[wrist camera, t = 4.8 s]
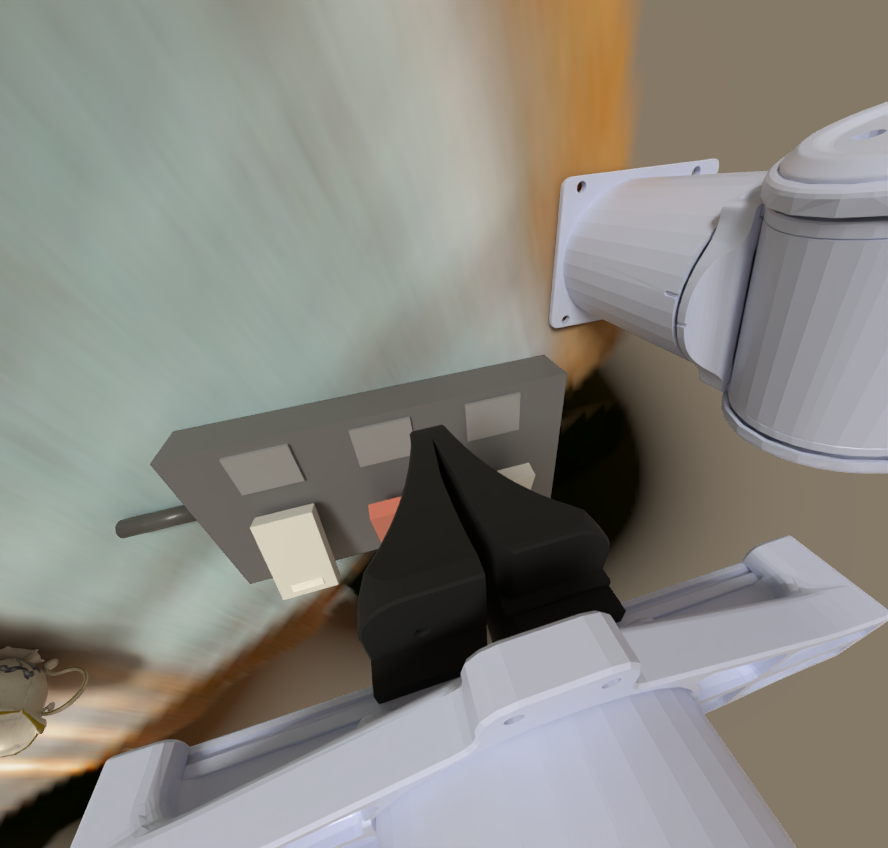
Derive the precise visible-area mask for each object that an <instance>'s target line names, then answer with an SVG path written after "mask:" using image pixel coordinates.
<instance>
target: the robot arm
mask: <svg viewBox="0 0 888 848" xmlns="http://www.w3.org/2000/svg"><path fill="white" fill-rule="evenodd" d="M693 169H695V171H694V174H693V175H692V172H693ZM718 169H719V161H718V160H717V159H707V160H699V161H692V162H683V163H675V164H667V165H659V166H651V167H643V168H635V169H627V170H619V171H611V172H603V173H595V174H587V175H580V176H572V177H568V178H566V179H565V180H564V181H563V183H562V185H561V190H560V201H559V212H558V223H557V235H556V246H555V257H554V269H553V280H552V291H551V303H550V314H549V324H550V326H552V327H554V328H562V327H567V326H572V325H577V324H582V323H587V322H592V321H597V320H602V319H603V320H605V321H607V322H609V323H611V324H613V325H615V326H618V327H620V328H622V329H624V330H626V331H628V332H630V333H632V334H634V335H636V336H638V337H640V338H642V339H645V340H647V341H649V342H651V343H653V344H655V345H657V346H659V347H661V348H664V349H665V350H667V351H670V352H672V353H674V354H676V355H678V356H680V357H682V358H684V359H686V360H688V361H691V362H692V363H694V364H695V365H696V366H697V367H698V369H699V373H700V380H701V381H703V382H705V383H707V384H709V385H711V386H713V387H715V388H716V389H718V390H720V391H722V392H723V396H722V411H723V414H724V418H725V419H726V421H727V423H728V424H729V426H730V427H731V428H732V429H733V430H734V431H735V432H736V433H737V434H738V435H739V436H740V437H742V438H743V439H745V440H746V441H747V442H749V443H750V444H752V445H754V446H755V447H757V448H759V449H761V450H763V451H765V452H767V453H769V454H772V455H774V456H776V457H779V458H782V459H785V460H788V461H791V462H794V463H797V464H801V465H805V466H809V467H813V468H818V469H825V470H831V471H837V472H849V473H888V102H885V103H882V104H880V105H877V106H874V107H871V108H869V109H866V110H863V111H861V112H858V113H856V114H853V115H851V116H848V117H846V118H844V119H841V120H839V121H837V122H835V123H832V124H831V125H829V126H826V127H824V128H823V129H821V130H819V131H817V132H815V133H814V134H812V135H811V136H809V137H808V138H806V139H805V140H804V141H803V142H802V143H800V144H799V145H798V146H797V147H796V148H795V149H794V150H792V151H791V152H790V153H789V154H788V155H786V156H785V157H784V158H782V159H781V160H779V161H778V162H777V163H776V164H775V165H774V166H773V167H772V168H771V169H770V170H769V171H757V172H740V173H721V174H717V172H718ZM579 182H581V184H582V188H581V190H580V192H578V191H577V186H578V184H579ZM564 316H566V319H565V320H564V321H563V322H562V319H563V317H564ZM409 435H410V441H411V450H410V460H409V467H408V473H407V477H406V481H405V486H404V489H403V493H402V496H401V499H400V502H399V505H398V508H397V510H396V513H395V515H394V518H393V520H392V523H391V525H390V527H389V529H388V531H387V533H386V535H385V537H384V539H383V541H382V543H381V545H380V547H379V549H378V550H377V552H376V554H375V555H374V557H373V559H372V560H371V562H370V564H369V565H368V567H367V569H366V570H365V572H364V574H363V579H362V583H361V588H360V593H359V600H358V610H357V622H358V636H359V640H360V642H361V644H362V646H363V647H364V649H365V651H366V652H367V654H368V656H369V657H370V659H371V666H372V682H373V686H371V687H368V688H365V689H362V690H359V691H356V692H353V693H350V694H347V695H344V696H341V697H338V698H335V699H332V700H329V701H326V702H323V703H320V704H317V705H314V706H311V707H308V708H305V709H302V710H300V711H296V712H293V713H290V714H288V715H284V716H281V717H278V718H275V719H273V720H269V721H266V722H263V723H260V724H257V725H255V726H252V727H248V728H245V729H242V730H239V731H236V732H234V733H231V734H227V735H225V736H222V737H219V738H215V739H213V740H209V741H207V742H204V743H201V744H198V745H195V746H192V747H189V746H188V745H187V744H185V743H184V742H182V741H179V740H164V741H159V742H156V743H152V744H149V745H146V746H143V747H140V748H137V749H134V750H131V751H128V752H125V753H122V754H119V755H116V756H113V757H111V758H110V759H109V760H107V761H106V763H105V765H104V768H103V770H102V772H101V775H100V777H99V780H98V782H97V784H96V787H95V789H94V792H93V794H92V796H91V799H90V801H89V804H88V806H87V808H86V811H85V813H84V816H83V818H82V820H81V823H80V825H79V828H78V830H77V833H76V835H75V837H74V840H73V842H72V845H71V847H70V848H797V847H796V846H795V844H794V843H793V841H792V840H791V838H790V837H789V836H788V834H787V833H786V831H785V830H784V828H783V827H782V825H781V824H780V823H779V821H778V820H777V818H776V817H775V815H774V814H773V812H772V811H771V810H770V808H769V807H768V805H767V804H766V802H765V801H764V800H763V798H762V797H761V795H760V794H759V792H758V791H757V790H756V788H755V787H754V785H753V784H752V782H751V781H750V779H749V778H748V777H747V775H746V774H745V772H744V771H743V770H742V768H741V766H740V765H739V764H738V762H737V761H736V759H735V758H734V756H733V755H732V754H731V752H730V751H729V749H728V748H727V746H726V745H725V744H724V742H723V741H722V739H721V738H720V736H719V735H718V734H717V732H716V731H715V729H714V728H713V726H712V725H711V724H710V722H709V721H708V719H707V718H706V716H705V715H704V714H706V713H708V712H710V711H713V710H715V709H717V708H719V707H721V706H724V705H725V704H728V703H730V702H732V701H734V700H737V699H738V698H741V697H743V696H745V695H747V694H749V693H752V692H754V691H756V690H758V689H760V688H763V687H765V686H767V685H769V684H772V683H774V682H776V681H778V680H780V679H782V678H784V677H787V676H789V675H792V674H794V673H796V672H799V671H801V670H803V669H806V668H808V667H810V666H813V665H815V664H818V663H820V662H823V661H825V660H827V659H829V658H832V657H835V656H836V655H838V654H839V653H841V652H842V651H844V650H845V649H847V648H848V647H850V646H851V645H853V644H854V643H856V642H857V641H859V640H860V639H862V638H863V637H865V636H866V635H868V634H869V633H871V632H872V631H874V630H875V629H877V628H878V627H880V626H881V625H883V624H884V623H886V622H887V621H888V610H887V609H886V608H885V607H883V606H882V605H881V604H880V603H878V602H877V601H876V600H874V599H873V598H872V597H870V596H869V595H868V594H866V593H865V592H864V591H862V590H861V589H860V588H858V587H857V586H856V585H855V584H853V583H852V582H851V581H849V580H848V579H847V578H845V577H844V576H843V575H841V574H840V573H839V572H837V571H836V570H835V569H834V568H832V567H831V566H830V565H828V564H827V563H826V562H824V561H823V560H822V559H820V558H819V557H818V556H816V555H815V554H814V553H812V552H811V551H810V550H808V549H807V548H806V547H805V546H803V545H802V544H801V543H799V542H798V541H797V540H795V539H794V538H793V537H792V536H783V537H780V538H777V539H774V540H771V541H768V542H765V543H762V544H759V545H757V546H755V547H754V548H752V549H751V550H750V551H749V552H748V553H747V554H746V555H745V557H744V559H743V562H741V563H739V564H736V565H732V566H729V567H727V568H723V569H720V570H717V571H714V572H712V573H709V574H706V575H702V576H699V577H697V578H693V579H691V580H688V581H685V582H682V583H679V584H676V585H673V586H670V587H667V588H664V589H661V590H658V591H655V592H652V593H649V594H646V595H643V596H640V597H637V598H634V599H631V600H628V601H625V602H622V603H620V601H619V600H618V598H617V597H616V595H615V594H614V593H613V591H612V590H611V588H610V587H609V585H610V579H609V578H608V576H607V575H606V573H605V572H604V570H603V566H604V563H605V560H606V557H607V554H608V551H609V544H610V542H609V540H608V537H607V536H606V534H605V533H604V532H603V531H602V529H601V528H600V527H599V526H598V524H597V523H596V522H595V521H594V520H593V519H592V518H591V517H590V516H589V515H588V514H587V513H586V512H585V511H584V510H583V509H580V508H577V507H574V506H571V505H568V504H565V503H561V502H558V501H556V500H553V499H551V498H548V497H546V496H543V495H541V494H538V493H536V492H534V491H532V490H530V489H528V488H526V487H524V486H522V485H520V484H518V483H516V482H514V481H512V480H511V479H509V478H507V477H505V476H504V475H502V474H501V473H499V472H497V471H496V470H494V469H493V468H492V467H490V466H489V465H487V464H486V463H485V462H483V461H482V460H481V459H479V458H478V457H477V456H476V455H474V454H473V453H472V452H471V451H470V450H469V449H467V448H466V447H465V446H464V445H463V444H462V443H461V442H460V441H459V440H458V439H457V438H456V437H455V436H454V435H453V434H452V433H451V432H450V431H449V430H448V429H447V428H446V427H445V426H444V425H438V426H434V427H429V428H425V429H420V430H416V431H412V432H411V433H410V434H409ZM486 624H487V625H488V629H489V632H490V635H491V639H492V644H490V645H487V631H486Z"/></svg>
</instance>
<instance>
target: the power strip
mask: <svg viewBox="0 0 888 848" xmlns="http://www.w3.org/2000/svg"><path fill="white" fill-rule="evenodd" d="M566 378H567V373H566V372H565V371H564V370H562V369H561V368H560V367H559V366H557V365H556V364H555V363H554V362H552V361H551V360H550V359H549V358H547V357H546V356H545V355H541V356H536V357H531V358H526V359H522V360H517V361H512V362H507V363H502V364H497V365H493V366H488V367H483V368H478V369H473V370H469V371H464V372H459V373H454V374H449V375H444V376H440V377H435V378H430V379H425V380H420V381H415V382H411V383H406V384H401V385H396V386H391V387H386V388H382V389H377V390H372V391H367V392H362V393H357V394H353V395H348V396H343V397H338V398H333V399H329V400H324V401H319V402H314V403H309V404H304V405H300V406H295V407H290V408H285V409H280V410H275V411H271V412H266V413H261V414H256V415H251V416H246V417H242V418H237V419H232V420H227V421H222V422H217V423H213V424H208V425H203V426H198V427H193V428H189V429H184V430H179V431H174V432H172V434H171V435H170V437H169V438H168V440H167V441H166V442H165V444H164V445H163V447H162V448H161V449H160V451H159V452H158V454H157V455H156V456H155V458H154V459H153V461H152V462H151V463H150V465H151V466H152V467H153V469H154V470H155V471H156V472H157V473H158V475H159V476H160V477H161V478H162V479H163V481H164V482H165V483H166V484H167V485H168V487H169V488H170V489H171V490H172V491H173V492H174V494H175V495H176V496H177V497H178V498H179V500H180V501H181V502H182V503H183V504H184V505H183V506H179V507H174V508H170V509H166V510H162V511H157V512H153V513H149V514H145V515H141V516H136V517H132V518H128V519H124V520H120V521H119V522H118V523H117V525H116V534H117V535H118V536H119V537H120V538H127V537H131V536H135V535H139V534H143V533H147V532H151V531H155V530H159V529H163V528H168V527H172V526H176V525H180V524H184V523H188V522H192V521H196V520H197V521H198V522H199V524H200V525H201V526H202V527H203V528H204V530H205V531H206V532H207V533H208V534H209V535H210V537H211V538H212V539H213V540H214V541H215V543H216V544H217V545H218V546H219V547H220V549H221V550H222V551H223V552H224V553H225V555H226V556H227V557H228V558H229V559H230V561H231V562H232V563H233V564H234V565H235V567H236V568H237V569H238V570H239V571H240V573H241V574H242V575H243V576H244V577H245V579H246V580H247V581H248V582H249V583H250V584H252V583H256V582H259V581H263V580H267V579H270V578H273V577H272V574H271V572H270V570H269V568H268V566H267V564H266V562H265V560H264V557H263V555H262V553H261V551H260V549H259V547H258V545H257V542H256V540H255V538H254V536H253V534H252V532H251V530H250V526H251V524H252V522H253V520H254V518H256V517H260V516H264V515H268V514H272V513H276V512H280V511H284V510H288V509H292V508H296V507H300V506H304V505H308V504H312V503H314V504H315V507H316V510H317V512H318V515H319V518H320V521H321V523H322V526H323V529H324V532H325V534H326V537H327V540H328V543H329V545H330V548H331V551H332V554H333V556H334V559H335V560H339V559H343V558H346V557H350V556H353V555H357V554H361V553H364V552H368V551H372V550H375V549H379V547H380V545H381V541H380V539H379V537H378V535H377V533H376V531H375V529H374V527H373V525H372V523H371V521H370V515H369V508H368V505H369V504H373V503H377V502H381V501H385V500H389V499H392V498H396V497H400V496H402V493H403V489H404V486H405V481H406V477H407V473H408V467H409V460H410V450H411V441H410V435H409V434H410V433H411V432H412V431H416V430H420V429H425V428H429V427H434V426H438V425H444V426H445V427H446V428H447V429H448V430H449V431H450V432H451V433H452V434H453V435H454V436H455V437H456V438H457V439H458V440H459V441H460V442H461V443H462V444H463V445H464V446H465V447H466V448H467V449H469V450H470V451H471V452H472V453H473V454H474V455H476V456H477V457H478V458H479V459H481V460H482V461H483V462H485V463H486V464H487V465H489V466H490V467H492V468H493V469H494V470H496V471H498V470H502V469H506V468H510V467H514V466H517V465H521V464H525V463H529V464H530V466H531V468H532V470H533V471H534V473H535V478H534V481H533V484H532V487H531V490H532V491H534V492H536V493H538V494H541V495H543V496H546V497H548V498H551V491H552V483H553V476H554V468H555V461H556V453H557V446H558V438H559V431H560V423H561V416H562V408H563V401H564V393H565V386H566Z"/></svg>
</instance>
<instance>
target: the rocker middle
mask: <svg viewBox="0 0 888 848" xmlns="http://www.w3.org/2000/svg"><path fill="white" fill-rule="evenodd" d="M400 499H401V496H400V497H396V498H392V499H389V500H385V501H381V502H377V503H373V504H369V505H368V508H369V515H370V521H371V523H372V525H373V527H374V529H375V531H376V533H377V535H378V537H379V539H380V541H381V543H382V541H383V539H384V537H385V535H386V533H387V531H388V529H389V527H390V525H391V523H392V520H393V518H394V515H395V513H396V510H397V508H398V505H399V502H400Z"/></svg>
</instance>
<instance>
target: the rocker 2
mask: <svg viewBox="0 0 888 848" xmlns="http://www.w3.org/2000/svg"><path fill="white" fill-rule="evenodd" d="M497 472H499V473H501V474H502V475H504V476H505V477H507V478H509V479H511V480H512V481H514V482H516V483H518V484H520V485H522V486H524V487H526V488H528V489H530V490H531V487H532V484H533V481H534V478H535V473H534V471H533V470H532V468H531V466H530V464H529V463H525V464H521V465H517V466H514V467H510V468H506V469H502V470H498V471H497Z"/></svg>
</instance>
